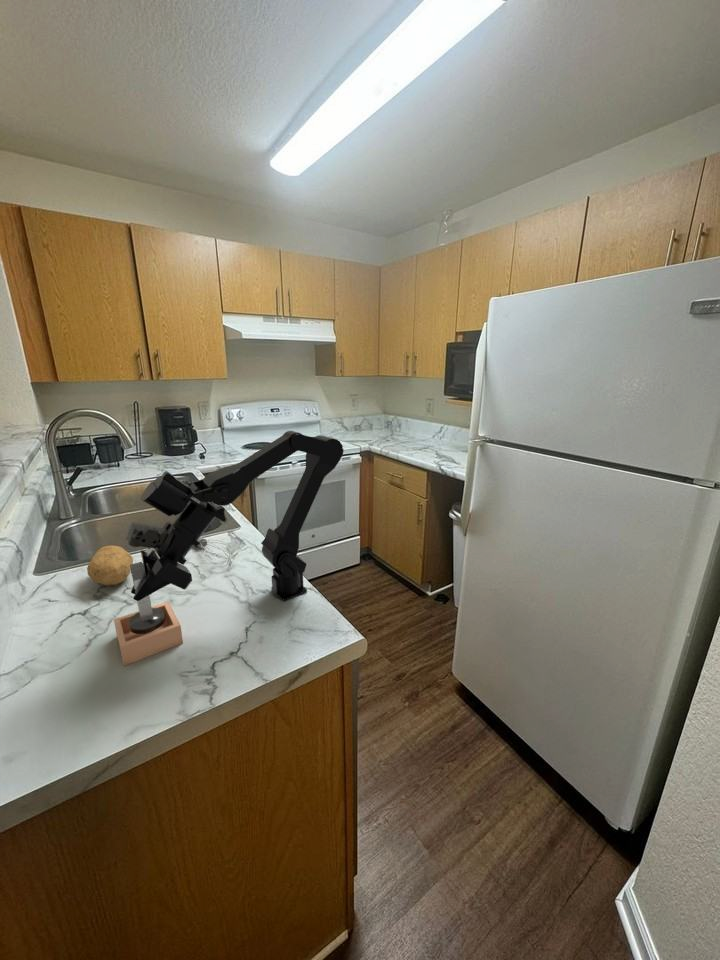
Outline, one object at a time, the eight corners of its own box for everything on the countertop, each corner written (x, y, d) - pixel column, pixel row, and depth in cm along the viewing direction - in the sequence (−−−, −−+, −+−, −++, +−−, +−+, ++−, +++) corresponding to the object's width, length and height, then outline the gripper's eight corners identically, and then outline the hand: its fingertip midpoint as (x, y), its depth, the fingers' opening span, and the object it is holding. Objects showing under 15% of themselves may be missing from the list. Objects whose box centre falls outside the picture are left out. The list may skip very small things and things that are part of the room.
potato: (89, 600, 89) (82, 569, 87) (91, 574, 100) (85, 546, 98) (137, 588, 94) (132, 558, 92) (134, 564, 105) (129, 538, 103)
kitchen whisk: (191, 531, 128) (188, 513, 126) (241, 567, 105) (239, 546, 103) (172, 536, 124) (169, 518, 122) (220, 575, 101) (217, 553, 99)
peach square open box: (171, 617, 83) (168, 601, 82) (183, 642, 75) (180, 625, 74) (117, 636, 77) (113, 619, 76) (124, 665, 69) (120, 647, 68)
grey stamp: (161, 610, 79) (151, 555, 76) (168, 625, 74) (158, 567, 71) (128, 622, 76) (116, 564, 72) (132, 638, 71) (120, 578, 67)
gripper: (142, 494, 78) (88, 559, 75) (162, 521, 64) (96, 604, 60) (188, 521, 85) (140, 582, 81) (215, 551, 70) (159, 627, 67)
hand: (134, 596), depth 72 cm, fingers closed on grey stamp, 2 cm apart
